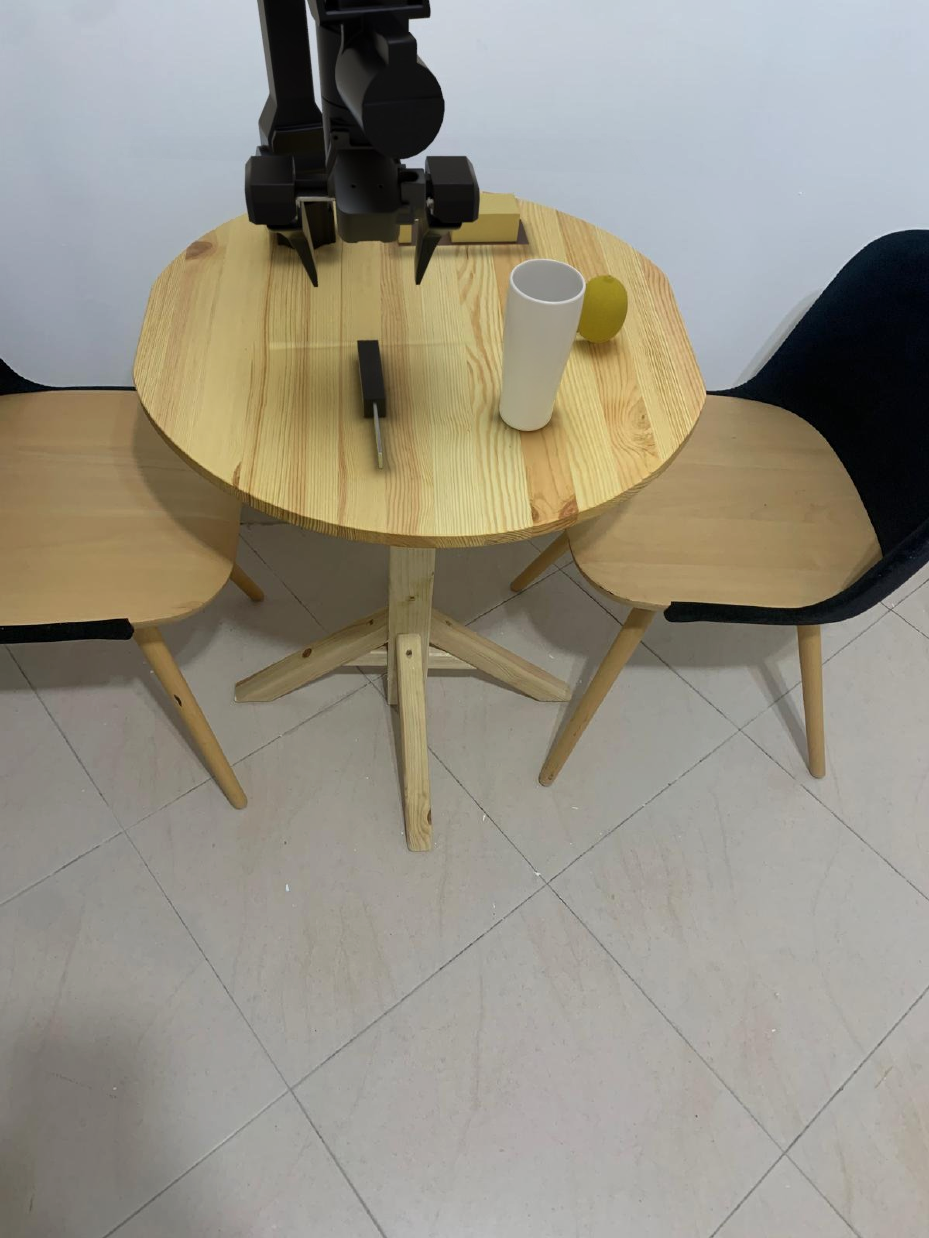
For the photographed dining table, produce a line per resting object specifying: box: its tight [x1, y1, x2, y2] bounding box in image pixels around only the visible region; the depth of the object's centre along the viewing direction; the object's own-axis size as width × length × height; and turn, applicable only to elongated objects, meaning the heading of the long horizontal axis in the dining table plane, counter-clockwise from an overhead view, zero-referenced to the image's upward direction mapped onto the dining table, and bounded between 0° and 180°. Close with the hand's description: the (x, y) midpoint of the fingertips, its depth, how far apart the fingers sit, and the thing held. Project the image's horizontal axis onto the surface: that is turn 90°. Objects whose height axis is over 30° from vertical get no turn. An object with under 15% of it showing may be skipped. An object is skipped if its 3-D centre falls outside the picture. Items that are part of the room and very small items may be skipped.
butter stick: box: [449, 192, 521, 242], centre depth 93 cm, size 8×4×4 cm, turn 98°
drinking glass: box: [498, 258, 587, 432], centre depth 72 cm, size 7×7×15 cm
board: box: [396, 218, 530, 247], centre depth 95 cm, size 16×6×1 cm, turn 98°
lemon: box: [577, 274, 629, 344], centre depth 82 cm, size 6×6×8 cm
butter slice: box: [397, 225, 411, 243], centre depth 92 cm, size 2×4×4 cm, turn 9°
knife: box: [356, 339, 387, 469], centre depth 76 cm, size 2×16×2 cm, turn 8°
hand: (367, 283), depth 71 cm, fingers open, 9 cm apart
